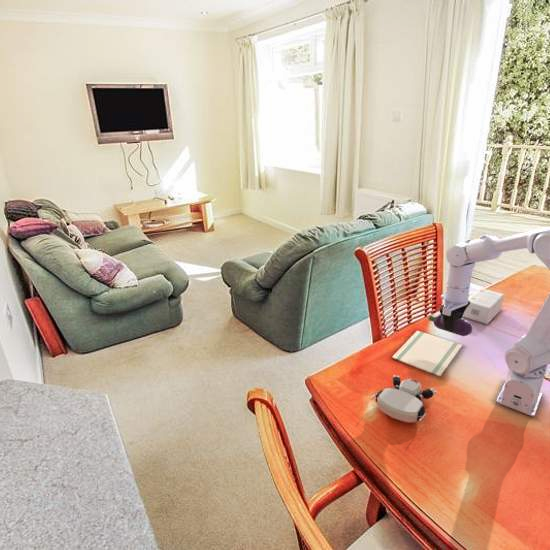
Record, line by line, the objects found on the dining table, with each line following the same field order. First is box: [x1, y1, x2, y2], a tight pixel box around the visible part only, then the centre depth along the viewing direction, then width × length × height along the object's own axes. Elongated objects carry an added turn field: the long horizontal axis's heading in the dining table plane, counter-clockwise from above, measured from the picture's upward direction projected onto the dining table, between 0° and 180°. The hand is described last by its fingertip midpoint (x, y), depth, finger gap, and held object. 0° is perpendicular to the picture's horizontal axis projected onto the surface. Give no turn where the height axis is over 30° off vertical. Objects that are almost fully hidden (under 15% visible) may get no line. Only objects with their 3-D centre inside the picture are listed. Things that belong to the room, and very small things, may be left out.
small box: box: [462, 288, 505, 325], centre depth 129 cm, size 8×6×13 cm
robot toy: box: [369, 374, 437, 424], centre depth 92 cm, size 12×4×15 cm
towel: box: [391, 330, 463, 378], centre depth 112 cm, size 18×14×1 cm
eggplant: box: [428, 313, 473, 337], centre depth 109 cm, size 12×5×5 cm, turn 47°
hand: (452, 326), depth 109 cm, fingers closed on eggplant, 4 cm apart
